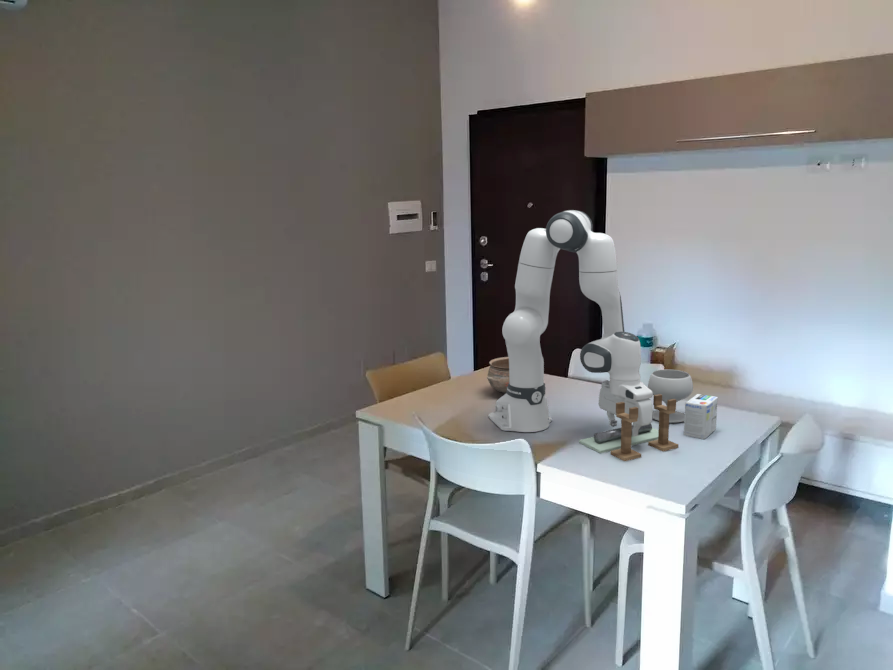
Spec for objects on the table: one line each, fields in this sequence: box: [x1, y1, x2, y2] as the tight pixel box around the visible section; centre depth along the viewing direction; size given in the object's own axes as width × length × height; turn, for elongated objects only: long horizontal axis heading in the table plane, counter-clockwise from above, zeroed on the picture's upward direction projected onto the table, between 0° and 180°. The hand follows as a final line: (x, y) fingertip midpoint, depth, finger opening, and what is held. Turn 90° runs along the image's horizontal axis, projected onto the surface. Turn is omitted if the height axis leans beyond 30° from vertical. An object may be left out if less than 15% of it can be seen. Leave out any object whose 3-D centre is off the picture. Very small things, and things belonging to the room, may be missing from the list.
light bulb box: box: [683, 393, 719, 440], centre depth 203 cm, size 11×7×11 cm, turn 141°
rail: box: [593, 422, 653, 443], centre depth 199 cm, size 20×3×3 cm, turn 116°
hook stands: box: [610, 394, 679, 462], centre depth 189 cm, size 6×20×15 cm, turn 116°
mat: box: [578, 427, 659, 454], centre depth 199 cm, size 10×26×1 cm, turn 116°
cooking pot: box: [486, 356, 509, 395], centre depth 249 cm, size 25×19×12 cm
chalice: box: [647, 368, 694, 424], centre depth 216 cm, size 14×14×15 cm
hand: (623, 430), depth 199 cm, fingers open, 8 cm apart
